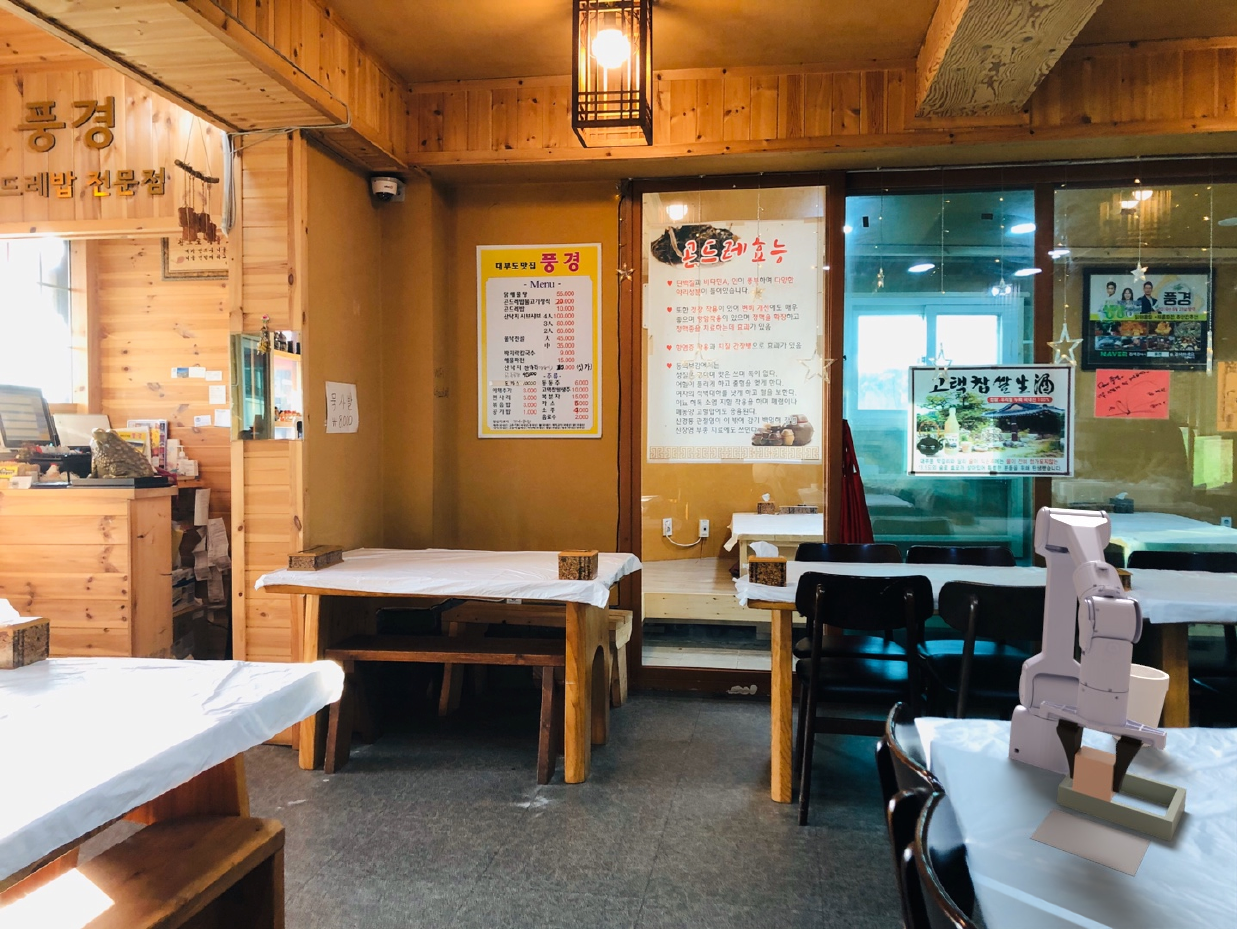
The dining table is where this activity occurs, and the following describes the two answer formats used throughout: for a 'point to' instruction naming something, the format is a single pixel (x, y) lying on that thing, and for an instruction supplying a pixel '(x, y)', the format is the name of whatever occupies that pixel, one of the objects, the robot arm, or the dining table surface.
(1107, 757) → the clay block
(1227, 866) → the dining table surface
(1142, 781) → the olive bin
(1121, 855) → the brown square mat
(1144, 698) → the foam cup
